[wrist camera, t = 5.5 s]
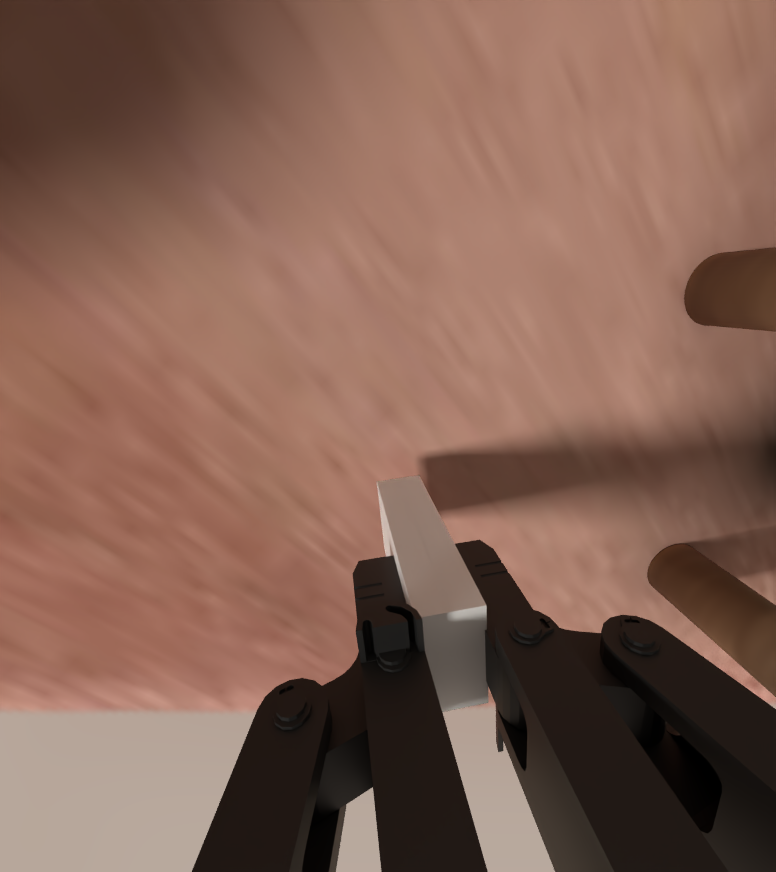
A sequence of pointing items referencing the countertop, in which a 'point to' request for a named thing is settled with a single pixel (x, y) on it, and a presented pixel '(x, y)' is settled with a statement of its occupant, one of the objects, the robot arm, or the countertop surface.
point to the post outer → (720, 608)
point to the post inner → (734, 290)
